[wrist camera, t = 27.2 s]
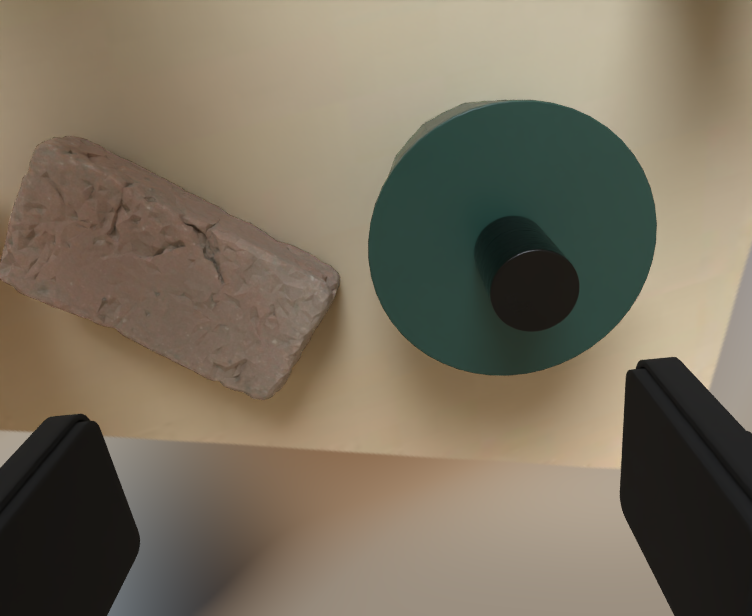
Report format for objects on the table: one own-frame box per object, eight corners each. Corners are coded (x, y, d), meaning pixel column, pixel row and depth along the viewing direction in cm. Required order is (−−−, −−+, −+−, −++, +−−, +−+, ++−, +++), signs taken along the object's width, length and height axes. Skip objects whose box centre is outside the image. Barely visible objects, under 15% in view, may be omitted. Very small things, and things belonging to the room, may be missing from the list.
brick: (347, 267, 35) (339, 296, 30) (286, 376, 38) (271, 417, 33) (78, 125, 32) (28, 134, 28) (35, 253, 35) (-16, 280, 31)
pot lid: (320, 181, 26) (299, 214, 20) (594, 42, 24) (656, 35, 18) (437, 401, 30) (446, 479, 25) (680, 302, 28) (753, 364, 22)
